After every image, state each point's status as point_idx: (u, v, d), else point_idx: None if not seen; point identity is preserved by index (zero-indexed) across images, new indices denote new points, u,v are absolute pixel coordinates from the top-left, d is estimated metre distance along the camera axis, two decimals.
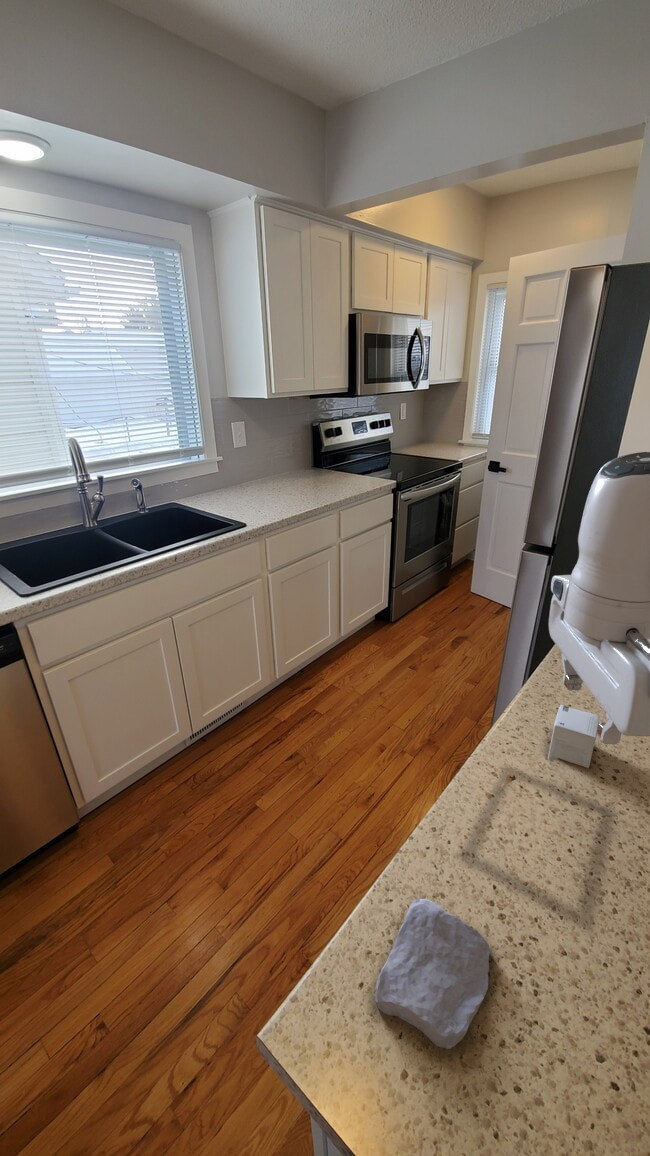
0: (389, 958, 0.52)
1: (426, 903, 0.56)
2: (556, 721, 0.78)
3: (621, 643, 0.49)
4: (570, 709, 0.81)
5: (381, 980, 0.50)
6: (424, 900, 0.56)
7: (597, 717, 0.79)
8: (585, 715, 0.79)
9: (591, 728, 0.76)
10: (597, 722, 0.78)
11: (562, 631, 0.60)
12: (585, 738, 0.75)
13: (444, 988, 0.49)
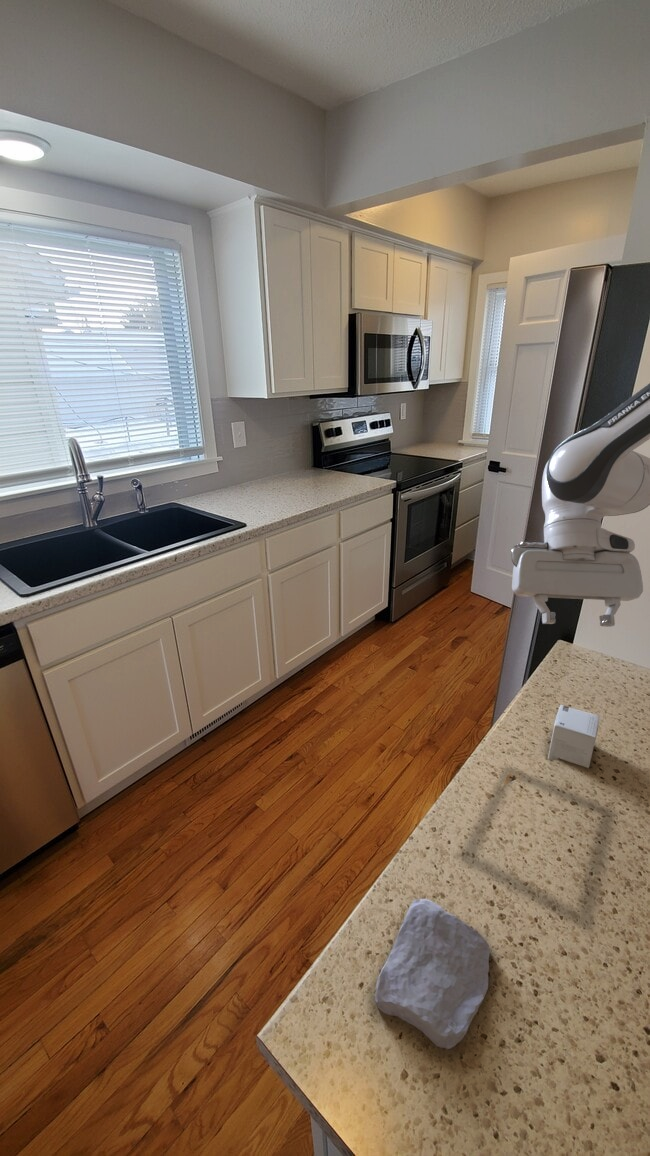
0: (389, 958, 0.52)
1: (426, 903, 0.56)
2: (556, 721, 0.78)
3: None
4: (570, 709, 0.81)
5: (381, 980, 0.50)
6: (424, 900, 0.56)
7: (597, 717, 0.79)
8: (585, 715, 0.79)
9: (591, 728, 0.76)
10: (597, 722, 0.78)
11: None
12: (585, 738, 0.75)
13: (444, 988, 0.49)
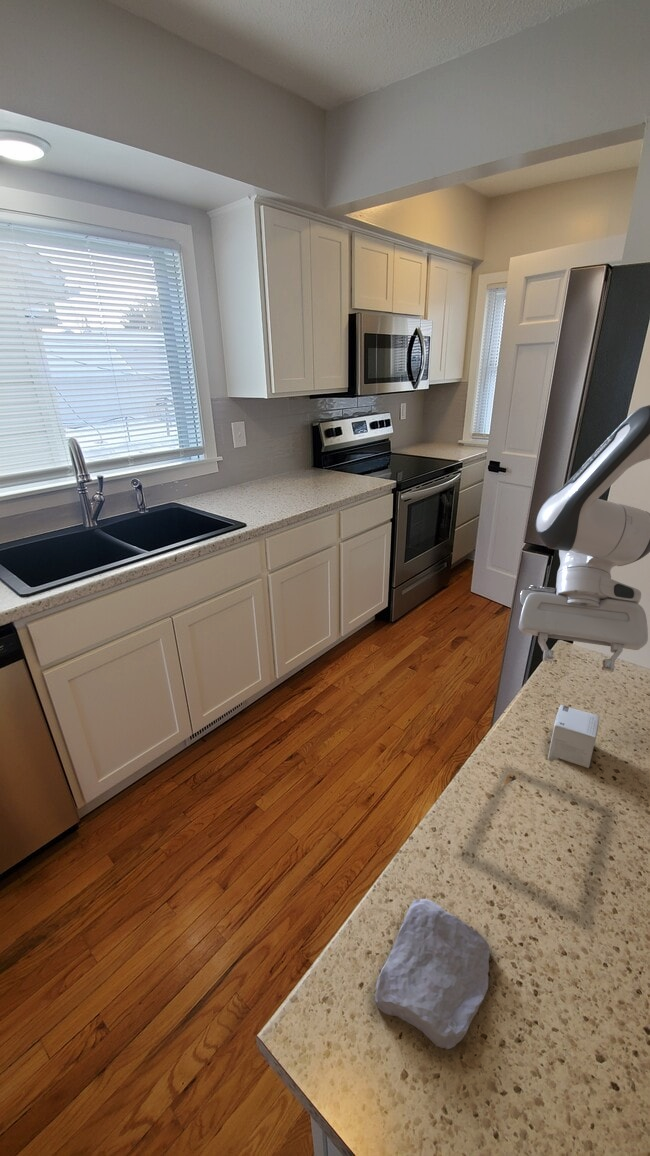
0: (389, 958, 0.52)
1: (427, 903, 0.56)
2: (556, 721, 0.78)
3: None
4: (570, 709, 0.81)
5: (381, 980, 0.50)
6: (424, 900, 0.56)
7: (597, 717, 0.79)
8: (585, 715, 0.79)
9: (591, 728, 0.76)
10: (597, 722, 0.78)
11: None
12: (585, 738, 0.75)
13: (444, 988, 0.49)
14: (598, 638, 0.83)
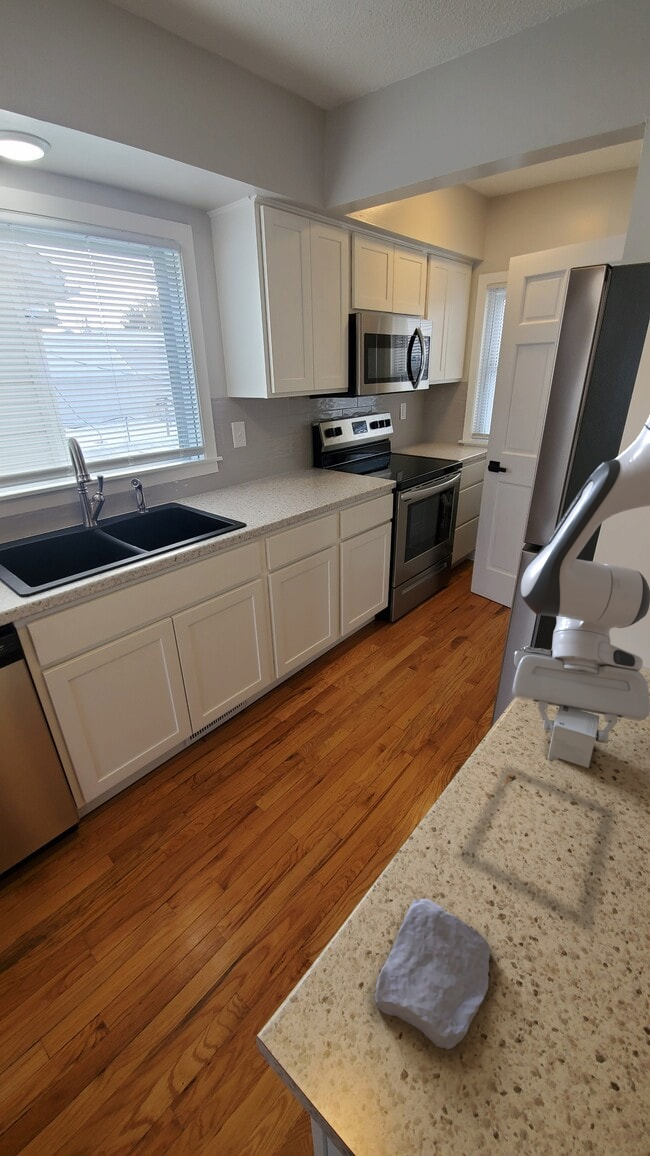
0: (389, 958, 0.52)
1: (427, 903, 0.56)
2: (556, 721, 0.78)
3: None
4: (569, 709, 0.81)
5: (381, 980, 0.50)
6: (424, 900, 0.56)
7: (597, 717, 0.79)
8: (585, 715, 0.79)
9: (591, 727, 0.76)
10: (597, 722, 0.78)
11: None
12: (585, 737, 0.75)
13: (445, 988, 0.49)
14: (597, 708, 0.78)
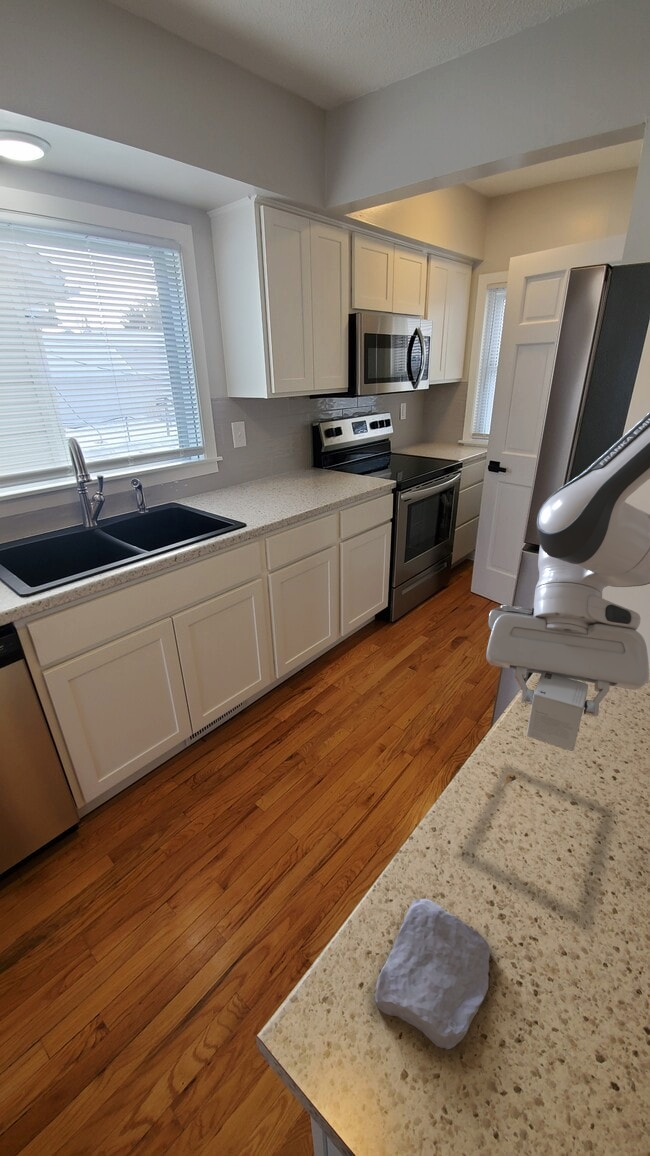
0: (389, 958, 0.52)
1: (427, 903, 0.56)
2: (536, 690, 0.65)
3: None
4: (553, 676, 0.68)
5: (381, 980, 0.50)
6: (424, 900, 0.56)
7: (585, 685, 0.66)
8: (572, 683, 0.66)
9: (578, 697, 0.63)
10: (585, 691, 0.65)
11: None
12: (570, 708, 0.62)
13: (445, 988, 0.49)
14: (585, 675, 0.65)
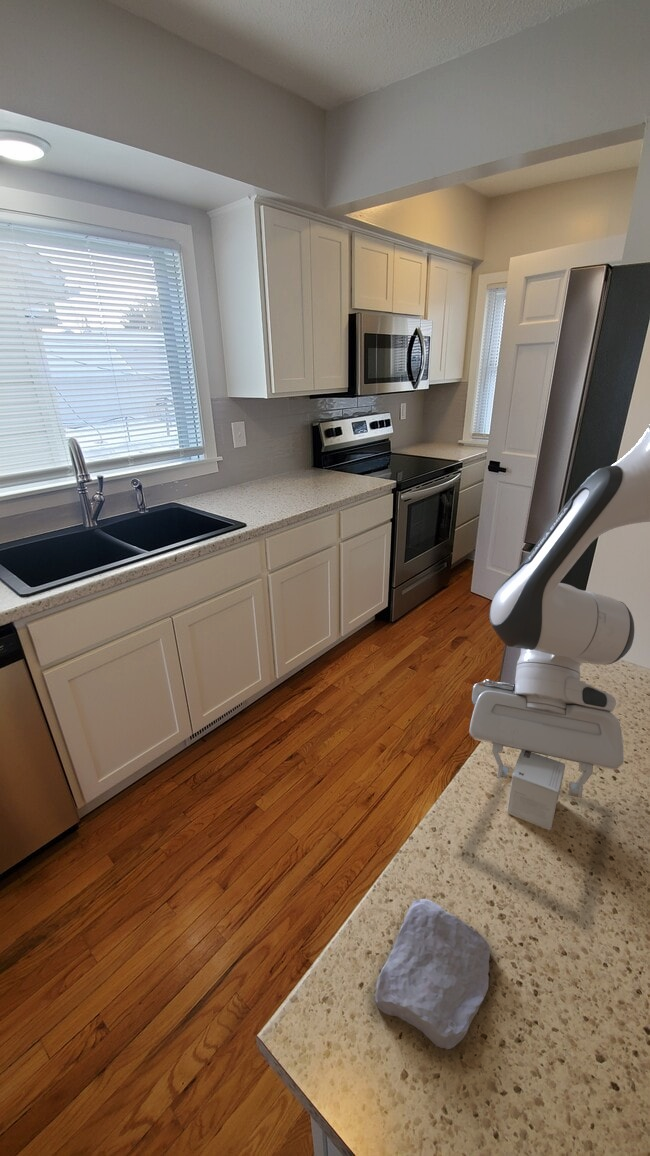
0: (389, 958, 0.52)
1: (427, 904, 0.56)
2: (515, 770, 0.68)
3: None
4: (532, 754, 0.70)
5: (381, 980, 0.50)
6: (424, 900, 0.56)
7: (562, 765, 0.68)
8: (549, 763, 0.69)
9: (555, 779, 0.66)
10: (562, 772, 0.67)
11: None
12: (547, 792, 0.65)
13: (445, 988, 0.49)
14: (563, 755, 0.67)
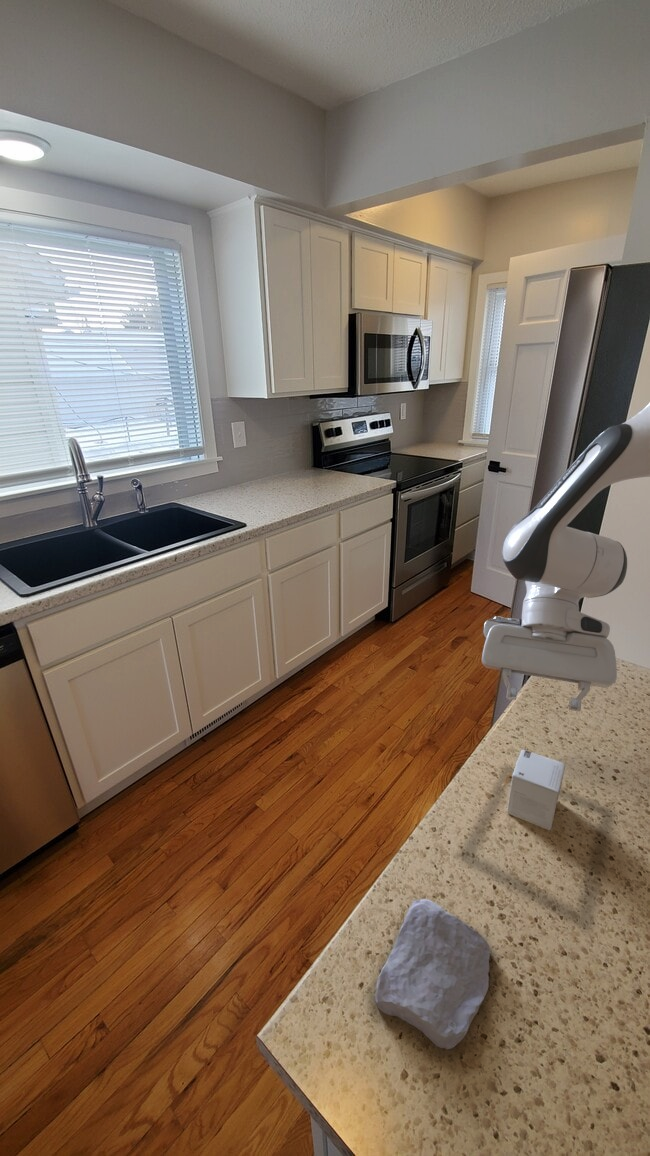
0: (389, 958, 0.52)
1: (427, 904, 0.56)
2: (515, 770, 0.68)
3: None
4: (532, 754, 0.70)
5: (381, 980, 0.50)
6: (424, 900, 0.56)
7: (562, 765, 0.68)
8: (549, 763, 0.69)
9: (555, 779, 0.66)
10: (562, 772, 0.67)
11: None
12: (547, 792, 0.65)
13: (445, 988, 0.49)
14: (564, 675, 0.77)
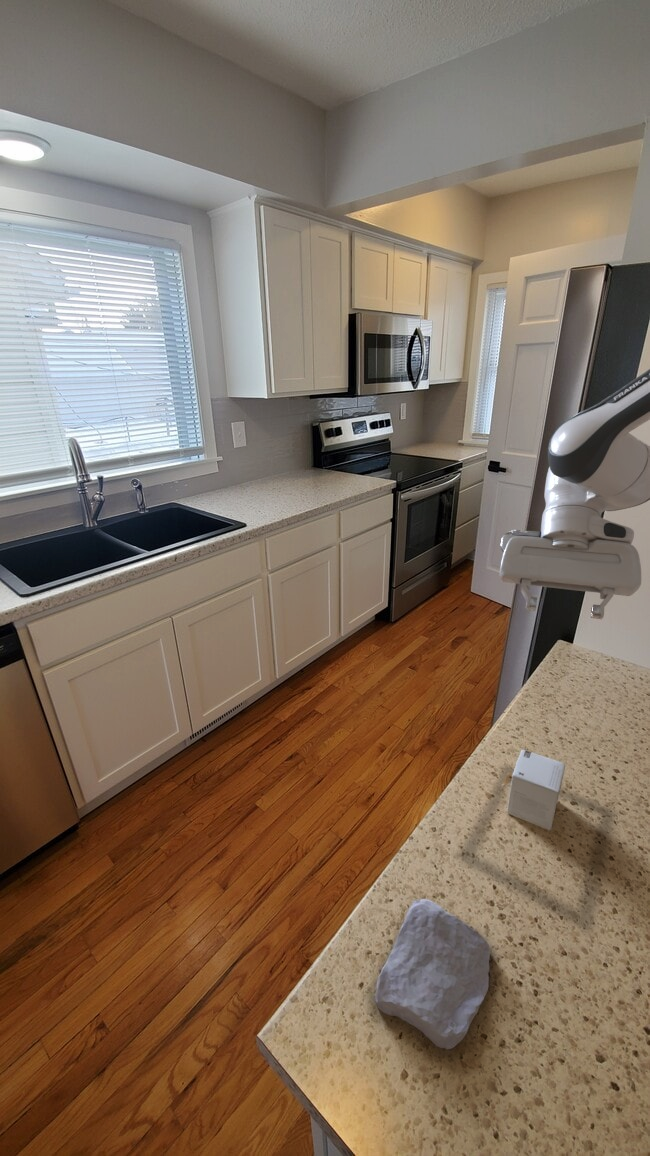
0: (389, 958, 0.52)
1: (427, 904, 0.56)
2: (515, 770, 0.68)
3: None
4: (532, 754, 0.70)
5: (381, 980, 0.50)
6: (425, 900, 0.56)
7: (562, 765, 0.68)
8: (549, 763, 0.69)
9: (555, 779, 0.66)
10: (562, 772, 0.67)
11: None
12: (547, 792, 0.65)
13: (445, 988, 0.49)
14: (586, 582, 0.75)
